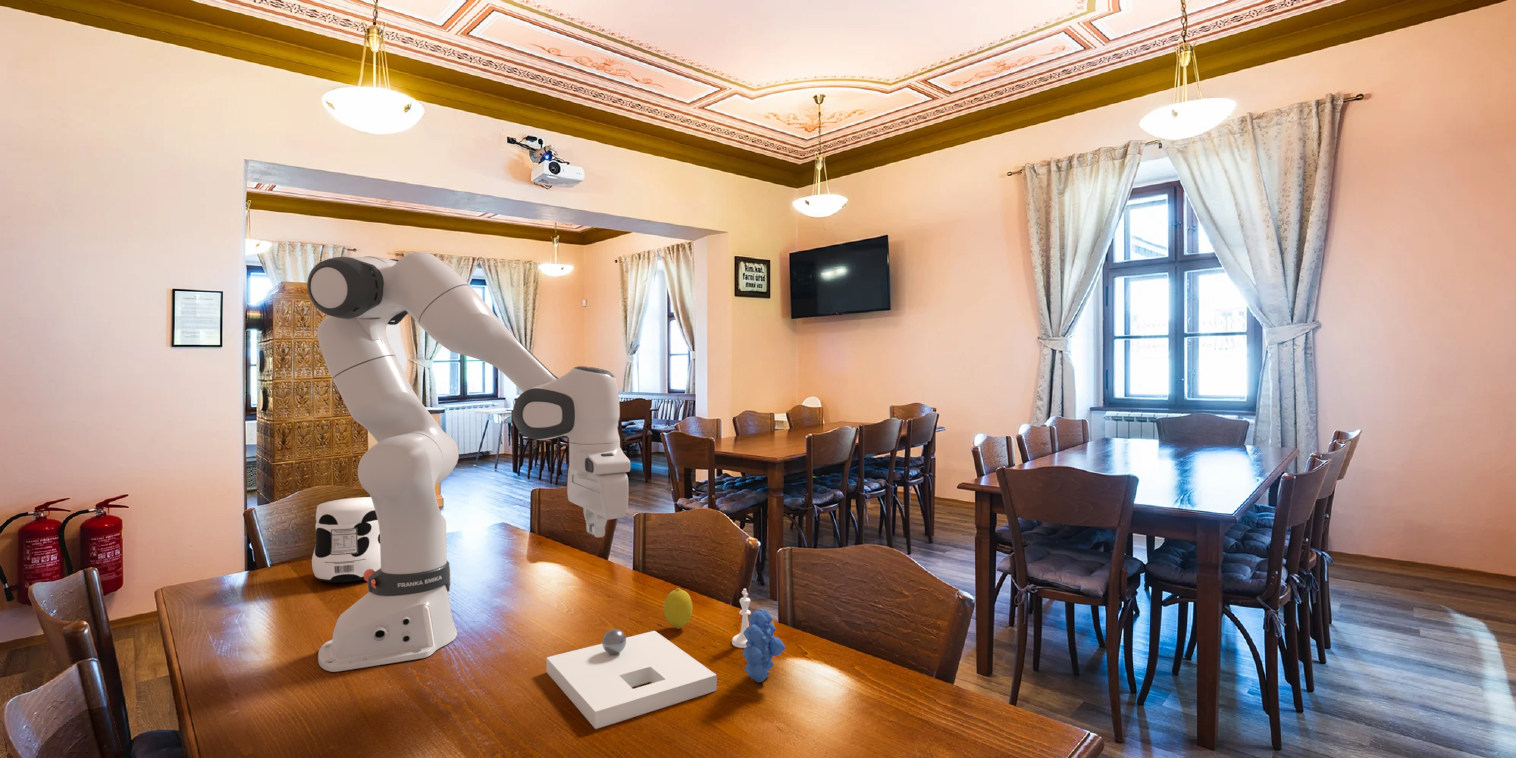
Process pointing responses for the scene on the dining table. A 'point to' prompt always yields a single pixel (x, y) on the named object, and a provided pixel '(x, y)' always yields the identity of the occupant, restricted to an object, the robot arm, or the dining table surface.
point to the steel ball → (614, 641)
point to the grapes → (761, 645)
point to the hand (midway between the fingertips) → (595, 534)
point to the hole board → (629, 678)
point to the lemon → (678, 608)
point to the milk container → (346, 540)
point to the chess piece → (743, 621)
